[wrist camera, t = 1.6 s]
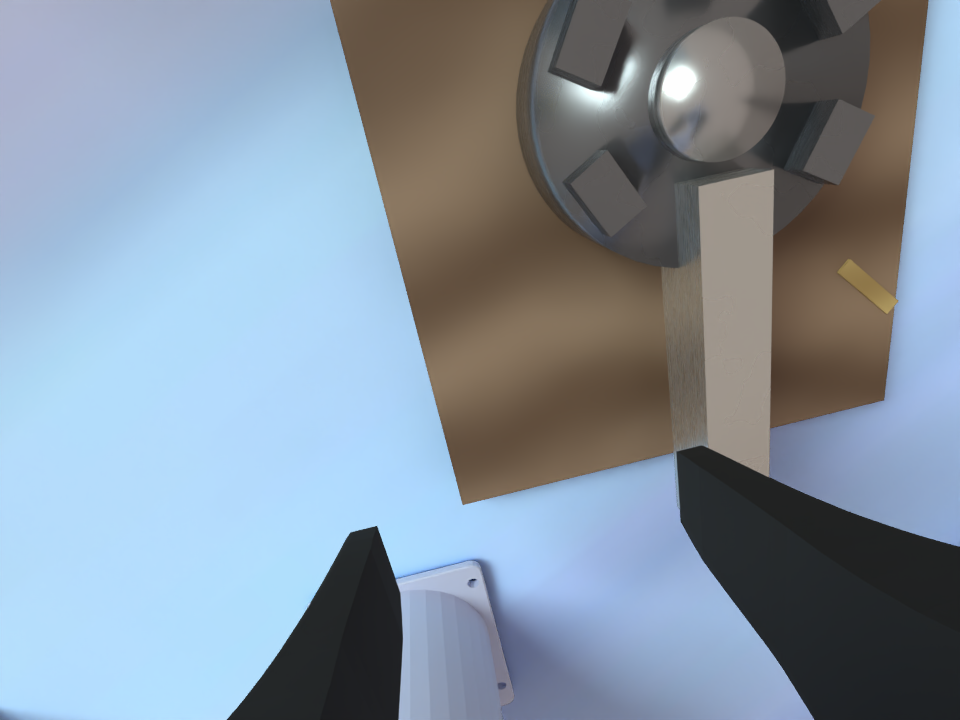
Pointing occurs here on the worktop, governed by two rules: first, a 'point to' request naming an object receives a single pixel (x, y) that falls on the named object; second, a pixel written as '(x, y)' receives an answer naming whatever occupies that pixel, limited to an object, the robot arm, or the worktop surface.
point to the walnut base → (596, 253)
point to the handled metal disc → (697, 167)
